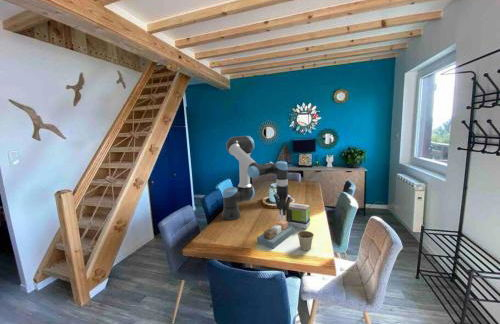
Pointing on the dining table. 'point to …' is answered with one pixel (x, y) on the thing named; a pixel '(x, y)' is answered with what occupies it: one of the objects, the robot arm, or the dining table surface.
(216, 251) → the dining table surface
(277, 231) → the cream key
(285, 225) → the terracotta key
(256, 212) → the dining table surface
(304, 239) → the flower pot
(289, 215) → the tea box
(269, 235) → the walnut key
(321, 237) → the dining table surface
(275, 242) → the grey slotted tray
